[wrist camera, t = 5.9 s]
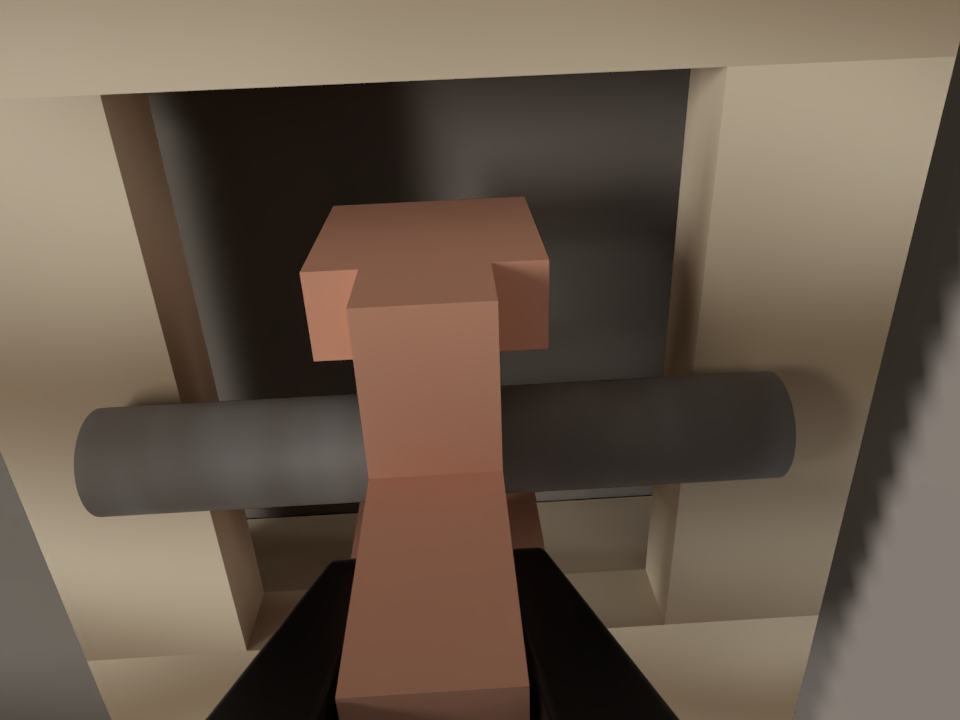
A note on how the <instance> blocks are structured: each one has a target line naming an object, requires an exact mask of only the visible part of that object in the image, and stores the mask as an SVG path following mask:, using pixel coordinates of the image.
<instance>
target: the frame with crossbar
mask: <svg viewBox="0 0 960 720" xmlns="http://www.w3.org/2000/svg"><path fill="white" fill-rule="evenodd" d="M959 43H960V0H0V451H1V454H2V456H3V458H4V461H5V463H6V466H7V468H8V471H9V473H10V475H11V478H12V480H13V483H14V485H15V488H16V490H17V492H18V495H19V497H20V500H21V502H22V504H23V507H24V509H25V512H26V514H27V517H28V519H29V521H30V524H31V526H32V529H33V531H34V534H35V536H36V538H37V541H38V543H39V546H40V548H41V551H42V553H43V555H44V558H45V560H46V563H47V565H48V568H49V570H50V572H51V575H52V577H53V580H54V582H55V585H56V587H57V589H58V592H59V594H60V597H61V599H62V602H63V604H64V606H65V609H66V611H67V614H68V616H69V618H70V621H71V623H72V626H73V628H74V631H75V633H76V635H77V638H78V640H79V643H80V645H81V648H82V650H83V652H84V655H85V657H86V660H87V662H88V665H89V667H90V669H91V672H92V674H93V677H94V679H95V682H96V684H97V686H98V689H99V691H100V694H101V696H102V699H103V701H104V703H105V706H106V708H107V711H108V713H109V715H110V718H111V720H205V719H206V718H207V717H208V716H209V714H210V713H211V712H212V711H213V709H214V708H215V707H216V705H217V704H218V703H219V702H220V700H221V699H222V698H223V697H224V695H225V694H226V693H227V692H228V690H229V689H230V688H231V687H232V685H233V684H234V683H235V681H236V680H237V679H238V678H239V676H240V675H241V674H242V673H243V671H244V670H245V669H246V668H247V666H248V665H249V664H250V663H251V661H252V660H253V659H254V657H255V656H256V655H257V654H258V652H259V651H260V650H261V649H262V647H263V646H264V645H265V644H266V642H267V641H268V640H269V639H270V637H271V636H272V635H273V634H274V632H275V631H276V630H277V628H278V627H279V626H280V625H281V623H282V622H283V621H284V620H285V618H286V617H287V616H288V615H289V613H290V612H291V611H292V610H293V608H294V607H295V606H296V604H297V603H298V602H299V601H300V599H301V598H302V597H303V596H304V594H305V593H306V592H307V591H308V589H309V588H310V587H311V586H312V584H313V583H314V582H315V580H316V579H317V578H318V577H319V575H320V574H321V573H322V572H323V570H324V569H325V568H326V567H327V565H328V564H329V563H330V562H332V561H333V560H336V559H350V558H351V554H352V548H353V542H354V536H355V530H356V523H357V517H358V513H350V514H333V515H316V516H299V517H282V518H265V519H248V520H247V517H246V513H245V509H250V508H267V507H285V506H302V505H319V504H336V503H353V502H365V500H366V494H367V487H368V481H369V477H368V469H367V462H366V454H365V447H364V439H363V432H362V424H361V417H360V409H359V402H358V394H345V395H327V396H309V397H291V398H272V399H254V400H236V401H219V399H218V394H217V390H216V386H215V382H214V378H213V373H212V369H211V365H210V361H209V356H208V352H207V348H206V344H205V339H204V335H203V331H202V327H201V322H200V318H199V314H198V310H197V305H196V301H195V297H194V293H193V288H192V284H191V280H190V276H189V271H188V267H187V263H186V259H185V254H184V250H183V246H182V242H181V238H180V233H179V229H178V225H177V221H176V216H175V212H174V208H173V204H172V199H171V195H170V191H169V187H168V182H167V178H166V174H165V170H164V165H163V161H162V157H161V153H160V148H159V144H158V140H157V136H156V131H155V127H154V123H153V119H152V114H151V110H150V106H149V102H148V98H147V93H152V92H174V91H197V90H219V89H241V88H264V87H286V86H308V85H331V84H353V83H375V82H398V81H420V80H442V79H465V78H487V77H509V76H532V75H554V74H576V73H599V72H621V71H643V70H666V69H688V68H691V71H690V82H689V93H688V104H687V115H686V126H685V137H684V149H683V160H682V171H681V182H680V193H679V204H678V215H677V226H676V237H675V248H674V259H673V270H672V281H671V292H670V304H669V315H668V326H667V337H666V348H665V359H664V370H663V377H656V378H638V379H620V380H601V381H583V382H565V383H547V384H528V385H510V386H500V388H501V423H502V458H503V476H504V484H505V492H506V494H508V493H525V492H543V491H560V490H577V489H594V488H611V487H629V486H646V485H653V492H652V496H641V497H624V498H607V499H590V500H573V501H556V502H538V503H537V508H538V513H539V519H540V524H541V530H542V536H543V541H544V547H545V551H546V552H547V553H548V555H549V556H550V557H551V558H552V560H553V561H554V562H555V563H556V565H557V566H558V567H559V568H560V570H561V571H562V572H563V573H564V575H565V576H566V577H567V578H568V580H569V581H570V582H571V583H572V585H573V586H574V587H575V589H576V590H577V591H578V592H579V594H580V595H581V596H582V597H583V599H584V600H585V601H586V602H587V604H588V605H589V606H590V607H591V609H592V610H593V611H594V612H595V614H596V615H597V616H598V617H599V619H600V620H601V621H602V622H603V624H604V625H605V626H606V628H607V629H608V630H609V631H610V633H611V634H612V635H613V636H614V638H615V639H616V640H617V641H618V643H619V644H620V645H621V646H622V648H623V649H624V650H625V651H626V653H627V654H628V655H629V656H630V658H631V659H632V660H633V662H634V663H635V664H636V665H637V667H638V668H639V669H640V670H641V672H642V673H643V674H644V675H645V677H646V678H647V679H648V680H649V682H650V683H651V684H652V685H653V687H654V688H655V689H656V690H657V692H658V693H659V694H660V696H661V697H662V698H663V699H664V701H665V702H666V703H667V704H668V706H669V707H670V708H671V709H672V711H673V712H674V713H675V714H676V716H677V717H678V718H679V719H680V720H793V718H794V714H795V710H796V706H797V702H798V698H799V694H800V690H801V686H802V682H803V678H804V673H805V669H806V665H807V661H808V657H809V653H810V649H811V645H812V641H813V637H814V633H815V629H816V625H817V621H818V617H819V612H820V608H821V604H822V600H823V596H824V592H825V588H826V584H827V580H828V576H829V572H830V568H831V564H832V560H833V556H834V551H835V547H836V543H837V539H838V535H839V531H840V527H841V523H842V519H843V515H844V511H845V507H846V503H847V499H848V495H849V490H850V486H851V482H852V478H853V474H854V470H855V466H856V462H857V458H858V454H859V450H860V446H861V442H862V438H863V434H864V429H865V425H866V421H867V417H868V413H869V409H870V405H871V401H872V397H873V393H874V389H875V385H876V381H877V377H878V373H879V368H880V364H881V360H882V356H883V352H884V348H885V344H886V340H887V336H888V332H889V328H890V324H891V320H892V316H893V312H894V307H895V303H896V299H897V295H898V291H899V287H900V283H901V279H902V275H903V271H904V267H905V263H906V259H907V255H908V251H909V247H910V242H911V238H912V234H913V230H914V226H915V222H916V218H917V214H918V210H919V206H920V202H921V198H922V194H923V190H924V186H925V181H926V177H927V173H928V169H929V165H930V161H931V157H932V153H933V149H934V145H935V141H936V137H937V133H938V129H939V125H940V120H941V116H942V112H943V108H944V104H945V100H946V96H947V92H948V88H949V84H950V80H951V76H952V72H953V68H954V64H955V59H956V55H957V51H958V47H959Z"/></svg>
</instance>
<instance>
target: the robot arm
mask: <svg viewBox="0 0 960 720" xmlns="http://www.w3.org/2000/svg"><path fill="white" fill-rule="evenodd" d="M513 557H514V565H515V573H516V582H517V590H518V598H519V606H520V614H521V622H522V630H523V638H524V646H525V655H526V663H527V671H528V679H529V697H530V720H680V719H679V718H678V717H677V716H676V714H675V713H674V712H673V711H672V709H671V708H670V707H669V706H668V704H667V703H666V702H665V701H664V699H663V698H662V697H661V696H660V694H659V693H658V692H657V690H656V689H655V688H654V687H653V685H652V684H651V683H650V682H649V680H648V679H647V678H646V677H645V675H644V674H643V673H642V672H641V670H640V669H639V668H638V667H637V665H636V664H635V663H634V662H633V660H632V659H631V658H630V656H629V655H628V654H627V653H626V651H625V650H624V649H623V648H622V646H621V645H620V644H619V643H618V641H617V640H616V639H615V638H614V636H613V635H612V634H611V633H610V631H609V630H608V629H607V628H606V626H605V625H604V624H603V622H602V621H601V620H600V619H599V617H598V616H597V615H596V614H595V612H594V611H593V610H592V609H591V607H590V606H589V605H588V604H587V602H586V601H585V600H584V599H583V597H582V596H581V595H580V594H579V592H578V591H577V590H576V589H575V587H574V586H573V585H572V583H571V582H570V581H569V580H568V578H567V577H566V576H565V575H564V573H563V572H562V571H561V570H560V568H559V567H558V566H557V565H556V563H555V562H554V561H553V560H552V558H551V557H550V556H549V555H548V553H547V552H546V551H545V550H544V549H542V548H540V547H532V548H515V549H513ZM356 559H357V558H350V559H336V560H333V561H332V562H330V563H329V564H328V565H327V567H326V568H325V569H324V570H323V572H322V573H321V574H320V575H319V577H318V578H317V579H316V580H315V582H314V583H313V584H312V586H311V587H310V588H309V589H308V591H307V592H306V593H305V594H304V596H303V597H302V598H301V599H300V601H299V602H298V603H297V604H296V606H295V607H294V608H293V610H292V611H291V612H290V613H289V615H288V616H287V617H286V618H285V620H284V621H283V622H282V623H281V625H280V626H279V627H278V628H277V630H276V631H275V632H274V634H273V635H272V636H271V637H270V639H269V640H268V641H267V642H266V644H265V645H264V646H263V647H262V649H261V650H260V651H259V652H258V654H257V655H256V656H255V657H254V659H253V660H252V661H251V663H250V664H249V665H248V666H247V668H246V669H245V670H244V671H243V673H242V674H241V675H240V676H239V678H238V679H237V680H236V681H235V683H234V684H233V685H232V687H231V688H230V689H229V690H228V692H227V693H226V694H225V695H224V697H223V698H222V699H221V700H220V702H219V703H218V704H217V705H216V707H215V708H214V709H213V711H212V712H211V713H210V714H209V716H208V717H207V718H206V719H205V720H339V716H338V711H337V706H336V700H335V696H336V690H337V683H338V677H339V670H340V664H341V657H342V651H343V644H344V638H345V631H346V625H347V618H348V611H349V605H350V598H351V592H352V585H353V579H354V572H355V566H356Z"/></svg>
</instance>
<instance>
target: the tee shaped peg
mask: <svg viewBox="0 0 960 720" xmlns="http://www.w3.org/2000/svg"><path fill="white" fill-rule="evenodd" d="M300 279H301V285H302V291H303V297H304V304H305V310H306V316H307V322H308V328H309V335H310V341H311V347H312V353H313V359H314V361H332V360H351V359H353V364H354V372H355V379H356V387H357V394H358V402H359V409H360V417H361V424H362V432H363V439H364V447H365V454H366V462H367V469H368V477H369V481H368V487H367V494H366V500H365V502H360V505H359V511H358V517H357V523H356V530H355V536H354V542H353V548H352V554H351V558H357V559H356V566H355V572H354V579H353V585H352V592H351V598H350V605H349V611H348V618H347V625H346V631H345V638H344V644H343V651H342V657H341V664H340V670H339V677H338V683H337V690H336V696H335V700H336V706H337V711H338V716H339V720H530V697H529V679H528V671H527V663H526V655H525V646H524V638H523V630H522V622H521V614H520V606H519V598H518V590H517V582H516V573H515V565H514V557H513V549H515V548H532V547H540V548H542V549H544V550H545V547H544V541H543V536H542V530H541V524H540V519H539V513H538V508H537V502H536V497H535V492H525V493H508V494H506V492H505V484H504V476H503V458H502V423H501V388H500V354H499V351H517V350H536V349H549V258H548V255H547V253H546V250H545V248H544V245H543V243H542V240H541V237H540V235H539V232H538V230H537V227H536V225H535V222H534V220H533V217H532V214H531V212H530V209H529V207H528V204H527V202H526V199H525V197H504V198H484V199H464V200H444V201H423V202H403V203H383V204H362V205H342V206H333V208H332V210H331V212H330V214H329V216H328V218H327V220H326V222H325V223H324V225H323V227H322V229H321V231H320V233H319V235H318V237H317V239H316V241H315V243H314V245H313V247H312V249H311V251H310V253H309V255H308V257H307V259H306V261H305V263H304V265H303V267H302V269H301V270H300Z"/></svg>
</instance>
